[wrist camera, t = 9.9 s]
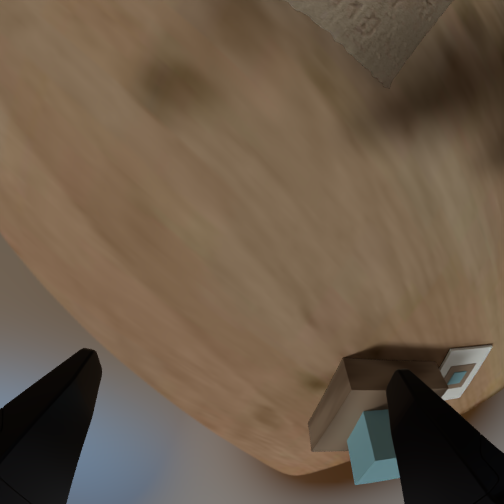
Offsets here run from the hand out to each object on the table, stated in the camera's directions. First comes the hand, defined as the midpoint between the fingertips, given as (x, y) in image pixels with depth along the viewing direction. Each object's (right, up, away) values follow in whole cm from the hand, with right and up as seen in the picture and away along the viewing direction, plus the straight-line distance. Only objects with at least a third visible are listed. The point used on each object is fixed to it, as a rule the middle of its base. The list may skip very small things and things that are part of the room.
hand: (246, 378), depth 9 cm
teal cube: (+12, -12, +16) cm, 23 cm away
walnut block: (+12, -10, +20) cm, 25 cm away
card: (+21, -9, +19) cm, 30 cm away
